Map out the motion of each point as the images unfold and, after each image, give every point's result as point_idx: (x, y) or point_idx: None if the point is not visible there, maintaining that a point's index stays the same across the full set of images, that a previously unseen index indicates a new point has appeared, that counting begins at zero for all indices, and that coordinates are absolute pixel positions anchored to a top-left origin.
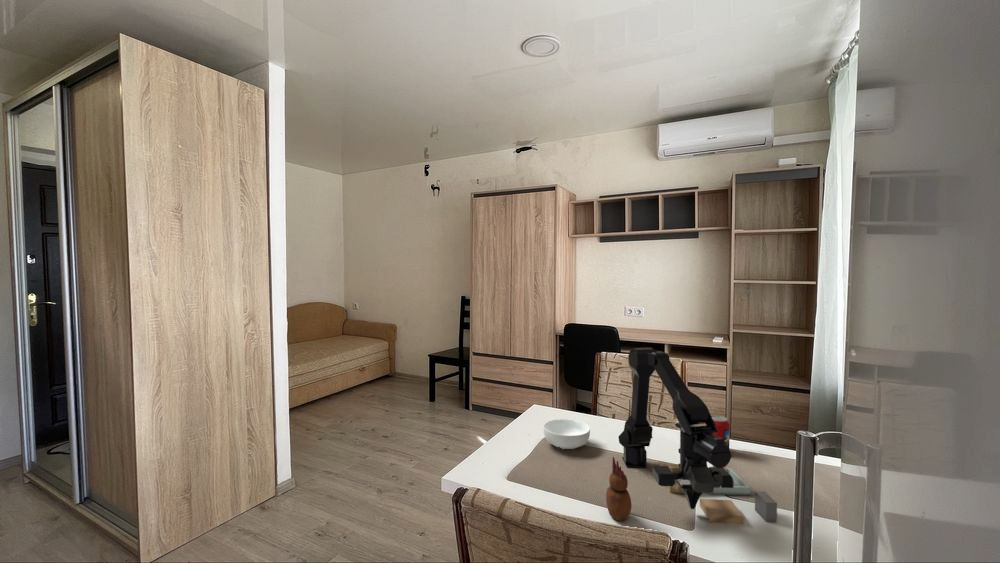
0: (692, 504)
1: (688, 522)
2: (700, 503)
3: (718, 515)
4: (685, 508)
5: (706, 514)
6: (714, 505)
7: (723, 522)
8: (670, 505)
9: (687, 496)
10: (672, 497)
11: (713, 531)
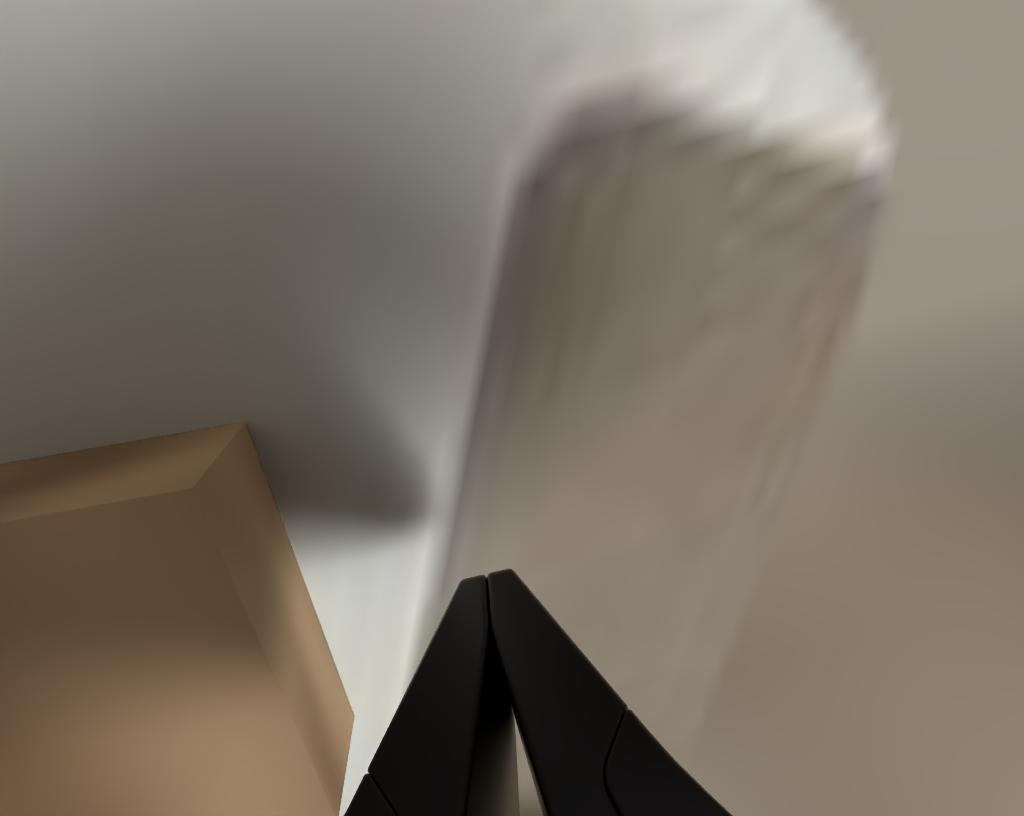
0: (502, 623)
1: (576, 324)
2: (341, 746)
3: (45, 509)
4: None
5: (283, 562)
6: (117, 742)
7: (37, 461)
8: (708, 627)
9: (650, 754)
10: None
11: (206, 166)
